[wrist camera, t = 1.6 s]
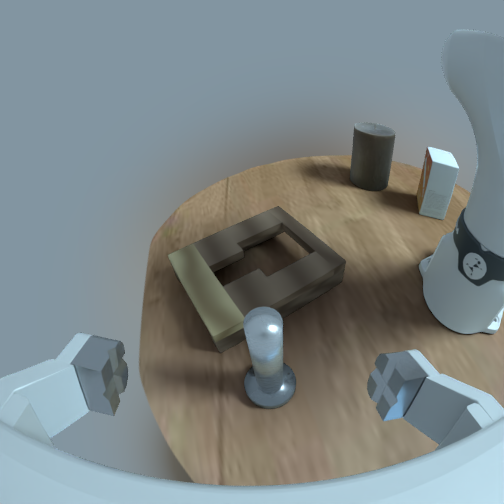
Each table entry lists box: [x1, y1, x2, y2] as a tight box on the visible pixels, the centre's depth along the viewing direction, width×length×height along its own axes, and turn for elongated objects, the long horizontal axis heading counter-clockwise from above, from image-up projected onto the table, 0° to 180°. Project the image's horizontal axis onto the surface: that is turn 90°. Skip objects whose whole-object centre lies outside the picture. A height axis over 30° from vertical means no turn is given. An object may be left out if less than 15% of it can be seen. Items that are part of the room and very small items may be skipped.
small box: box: [417, 147, 459, 220], centre depth 49 cm, size 8×6×13 cm
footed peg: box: [243, 307, 296, 409], centre depth 26 cm, size 6×6×15 cm
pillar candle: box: [350, 123, 395, 191], centre depth 58 cm, size 10×10×15 cm
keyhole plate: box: [168, 206, 346, 353], centre depth 43 cm, size 21×17×4 cm
